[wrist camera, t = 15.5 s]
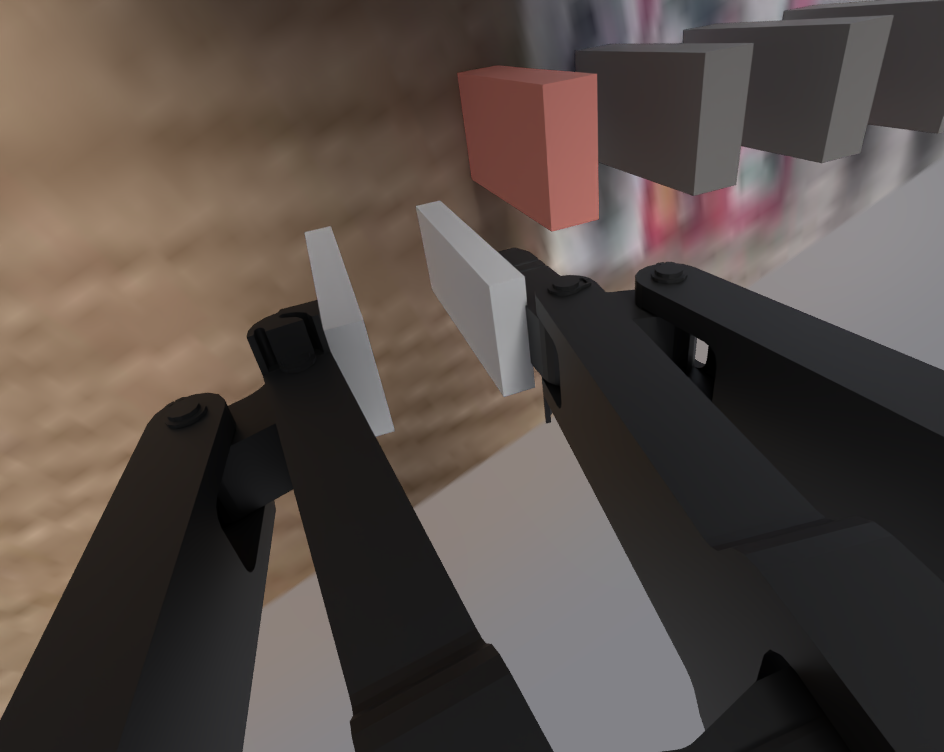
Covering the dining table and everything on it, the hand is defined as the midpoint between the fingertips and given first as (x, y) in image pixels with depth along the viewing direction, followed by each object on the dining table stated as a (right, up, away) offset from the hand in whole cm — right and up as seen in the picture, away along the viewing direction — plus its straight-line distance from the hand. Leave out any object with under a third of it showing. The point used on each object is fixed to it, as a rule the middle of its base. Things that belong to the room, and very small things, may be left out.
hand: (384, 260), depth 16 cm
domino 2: (+17, +16, +20) cm, 31 cm away
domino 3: (+24, +18, +21) cm, 37 cm away
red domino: (+3, +12, +17) cm, 21 cm away
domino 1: (+10, +14, +18) cm, 25 cm away
